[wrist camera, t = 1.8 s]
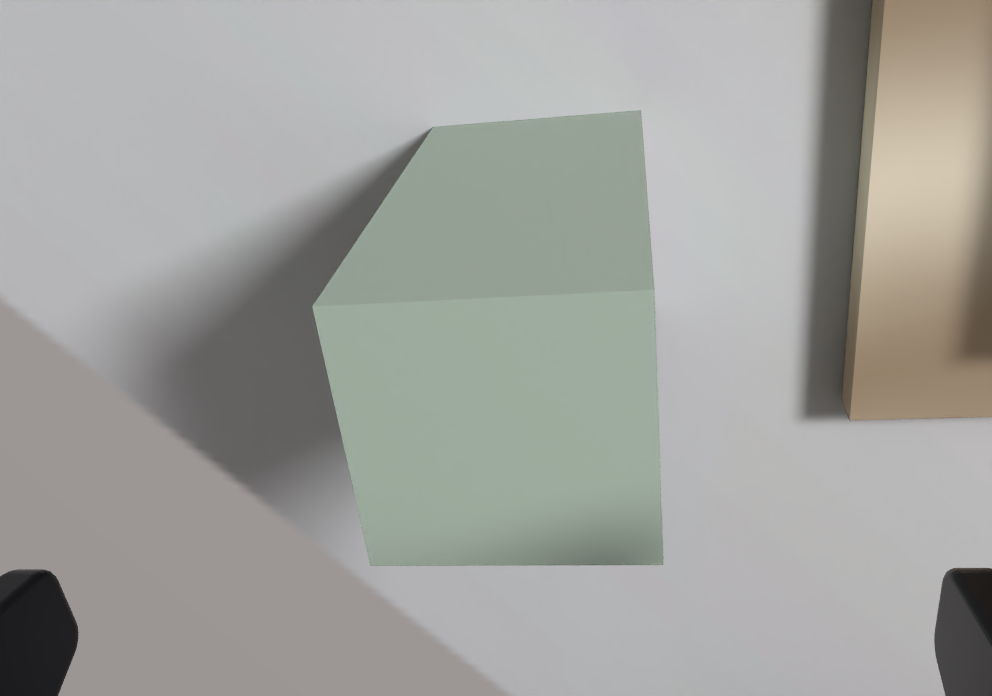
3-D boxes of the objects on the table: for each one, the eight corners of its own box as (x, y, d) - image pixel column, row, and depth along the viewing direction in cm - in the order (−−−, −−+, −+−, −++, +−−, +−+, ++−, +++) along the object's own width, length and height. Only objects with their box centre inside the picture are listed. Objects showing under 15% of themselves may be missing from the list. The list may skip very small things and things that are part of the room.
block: (648, 302, 19) (663, 565, 12) (459, 311, 20) (370, 565, 13) (640, 109, 17) (654, 289, 10) (433, 127, 18) (312, 306, 11)
